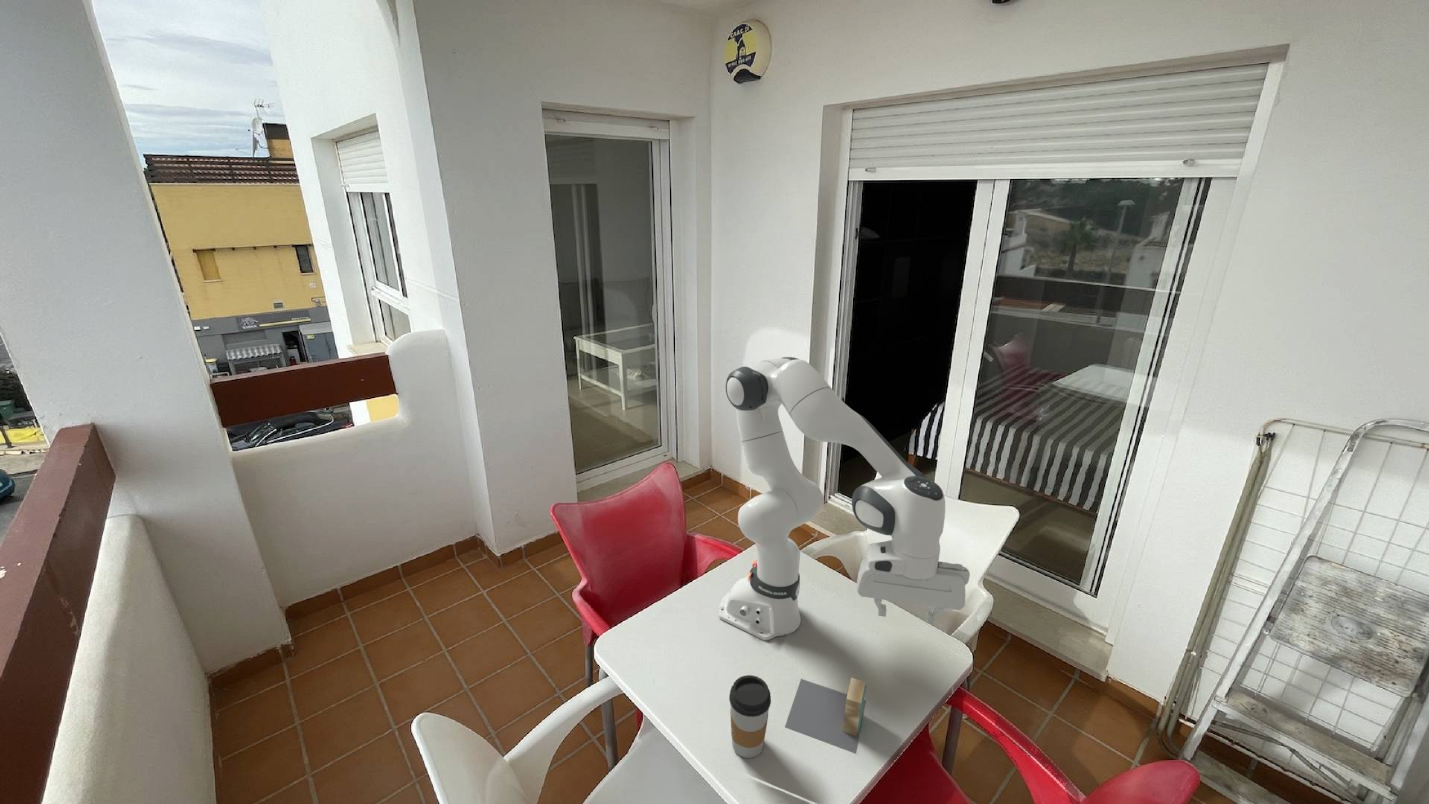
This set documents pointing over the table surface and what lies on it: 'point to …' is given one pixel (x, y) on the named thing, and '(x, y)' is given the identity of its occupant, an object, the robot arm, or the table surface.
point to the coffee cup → (749, 715)
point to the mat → (821, 715)
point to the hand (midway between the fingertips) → (905, 617)
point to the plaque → (854, 706)
